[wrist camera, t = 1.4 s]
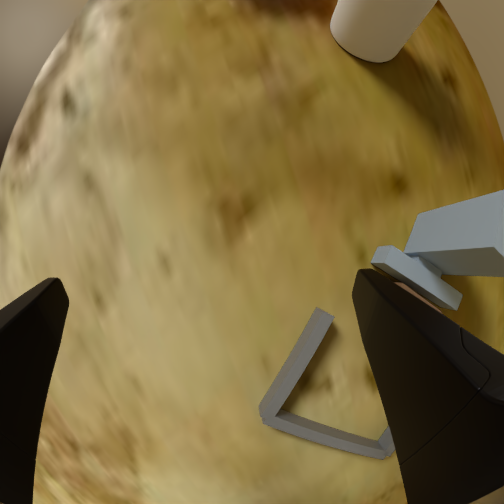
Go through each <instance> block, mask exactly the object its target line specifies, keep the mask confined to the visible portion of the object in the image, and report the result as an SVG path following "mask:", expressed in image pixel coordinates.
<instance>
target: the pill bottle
mask: <svg viewBox="0 0 504 504" xmlns="http://www.w3.org/2000/svg"><path fill="white" fill-rule="evenodd" d="M437 1H438V0H338V3H337V6H336V8H335V11H334V13H333V16H332V19H331V24H330V29H331V33H332V35H333V37H334V39H335V40H336V41H337V43H338V44H339V45H340V46H341V47H343V48H344V49H345V50H346V51H348V52H349V53H351V54H352V55H354V56H356V57H358V58H361V59H363V60H366V61H370V62H386V61H389V60H391V59H393V58H394V57H395V56H396V55H397V54H398V52H399V51H400V50H401V48H402V47H403V46H404V44H405V43H406V42H407V40H408V39H409V38H410V36H411V35H412V34H413V32H414V31H415V30H416V28H417V27H418V26H419V24H420V23H421V22H422V20H423V19H424V18H425V17H426V15H427V14H428V13H429V11H430V10H431V9H432V7H433V6H434V5H435V3H436V2H437Z"/></svg>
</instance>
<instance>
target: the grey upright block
mask: <svg viewBox="0 0 504 504" xmlns="http://www.w3.org/2000/svg"><path fill="white" fill-rule="evenodd" d="M371 263H372V264H373V265H375V266H376V267H378V268H380V269H381V270H383V271H385V272H386V273H388V274H389V275H391V276H393V277H394V278H396V279H398V280H399V281H401V282H402V283H404V284H405V285H407V286H409V287H410V288H412V289H413V290H415V291H417V292H418V293H420V294H421V295H423V296H424V297H426V298H427V299H429V300H430V301H432V302H434V303H435V304H437V305H438V306H440V307H442V308H446V309H451V310H456V311H457V309H458V307H459V304H460V302H461V299H462V297H463V295H462V294H461V293H460V292H458V291H457V290H456V289H454V288H453V287H452V286H450V285H449V284H448V283H446V282H445V281H443V280H442V279H441V275H442V274H444V275H467V276H492V277H504V190H501V191H498V192H494V193H491V194H487V195H484V196H480V197H477V198H473V199H469V200H466V201H462V202H459V203H455V204H452V205H448V206H445V207H441V208H437V209H434V210H430V211H427V212H423V213H419V214H418V216H417V219H416V221H415V224H414V227H413V229H412V232H411V234H410V237H409V240H408V242H407V245H406V247H405V250H404V252H401V251H400V250H398V249H397V248H395V247H394V246H392V245H389V246H381V247H378V248H377V250H376V252H375V254H374V256H373V259H372V261H371Z"/></svg>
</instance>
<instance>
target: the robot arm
mask: <svg viewBox="0 0 504 504" xmlns="http://www.w3.org/2000/svg"><path fill="white" fill-rule="evenodd" d="M352 299H353V303H354V307H355V311H356V316H357V320H358V324H359V329H360V333H361V337H362V341H363V345H364V348H365V351H366V354H367V357H368V360H369V363H370V366H371V369H372V372H373V375H374V378H375V381H376V384H377V387H378V391H379V394H380V397H381V400H382V404H383V407H384V410H385V414H386V417H387V421H388V424H389V428H390V431H391V435H392V439H393V443H394V446H395V450H396V454H397V458H398V462H399V465H400V471H401V475H402V479H403V484H404V488H405V493H406V497H407V502H408V504H504V355H503V354H502V353H500V352H498V351H497V350H495V349H494V348H492V347H490V346H489V345H487V344H486V343H484V342H482V341H481V340H480V339H478V338H477V337H475V336H474V335H472V334H471V333H469V332H468V331H466V330H465V329H464V328H462V327H460V326H459V325H458V324H456V323H455V322H453V321H452V320H450V319H449V318H447V317H446V316H444V315H443V314H441V313H440V312H438V311H437V310H436V309H434V308H432V307H431V306H429V305H428V304H426V303H425V302H423V301H422V300H420V299H419V298H417V297H416V296H414V295H413V294H411V293H410V292H408V291H407V290H405V289H403V288H402V287H400V286H399V285H397V284H396V283H394V282H392V281H391V280H389V279H388V278H386V277H385V276H383V275H381V274H380V273H378V272H377V271H375V270H373V269H370V268H369V269H360V270H358V272H357V274H356V279H355V283H354V287H353V291H352ZM68 307H69V298H68V296H67V293H66V291H65V289H64V286H63V284H62V281H61V280H60V279H59V278H47V279H45V280H44V281H42V282H41V283H39V284H38V285H36V286H35V287H33V288H32V289H30V290H29V291H27V292H26V293H24V294H23V295H21V296H20V297H18V298H17V299H15V300H14V301H12V302H11V303H10V304H8V305H7V306H5V307H4V308H3V309H1V310H0V504H33V486H34V474H35V464H36V460H35V459H36V454H37V447H38V440H39V434H40V428H41V422H42V417H43V412H44V407H45V402H46V398H47V393H48V389H49V385H50V381H51V377H52V373H53V369H54V365H55V362H56V358H57V355H58V351H59V347H60V343H61V339H62V334H63V329H64V325H65V320H66V316H67V312H68Z"/></svg>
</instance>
